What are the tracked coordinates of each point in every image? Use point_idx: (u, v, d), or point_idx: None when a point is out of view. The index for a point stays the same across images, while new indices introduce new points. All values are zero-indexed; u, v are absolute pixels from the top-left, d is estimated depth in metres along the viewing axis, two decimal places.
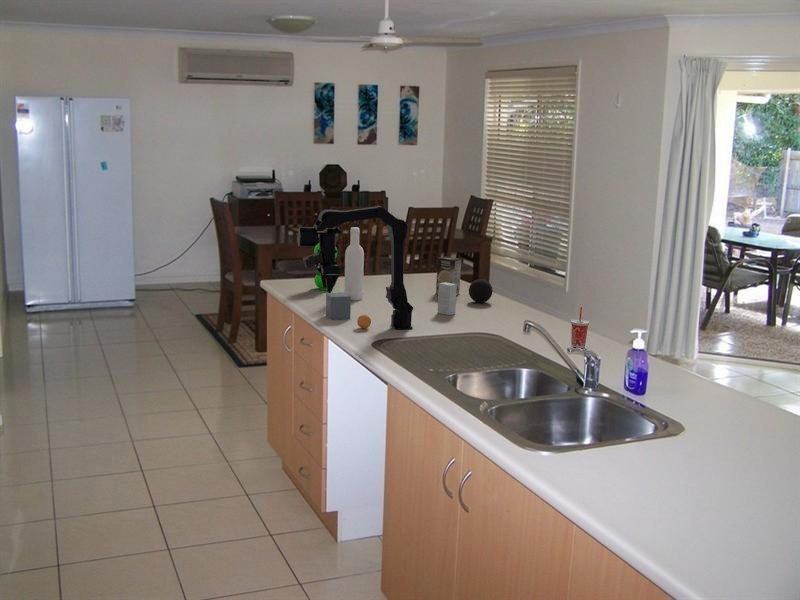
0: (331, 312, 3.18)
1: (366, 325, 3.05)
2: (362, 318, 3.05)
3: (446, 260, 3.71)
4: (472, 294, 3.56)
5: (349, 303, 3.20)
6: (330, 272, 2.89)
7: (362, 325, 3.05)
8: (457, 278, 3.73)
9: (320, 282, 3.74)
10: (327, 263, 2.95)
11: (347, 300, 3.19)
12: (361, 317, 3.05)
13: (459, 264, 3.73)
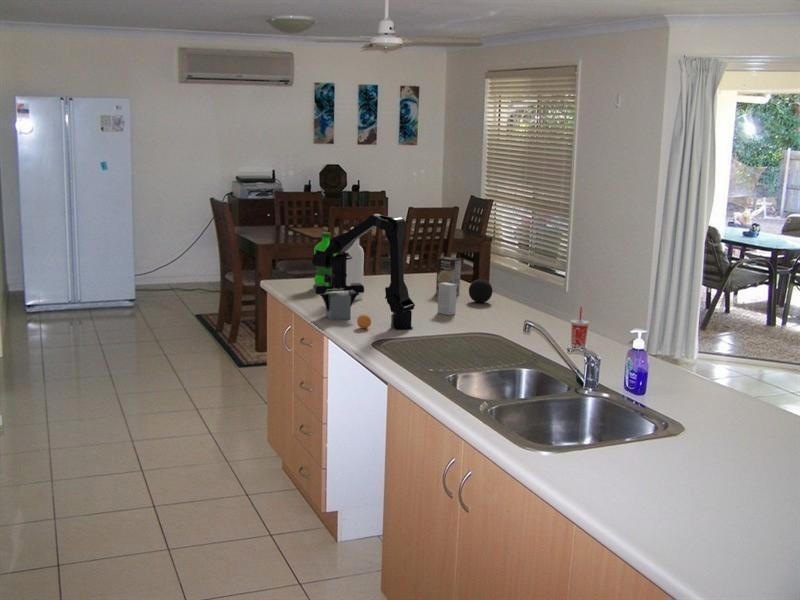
0: (331, 312, 3.18)
1: (366, 325, 3.05)
2: (362, 318, 3.05)
3: (446, 260, 3.71)
4: (472, 294, 3.56)
5: (349, 303, 3.20)
6: (313, 290, 3.19)
7: (362, 325, 3.05)
8: (457, 278, 3.73)
9: (320, 282, 3.74)
10: (331, 284, 3.21)
11: (347, 300, 3.19)
12: (361, 317, 3.05)
13: (459, 264, 3.73)
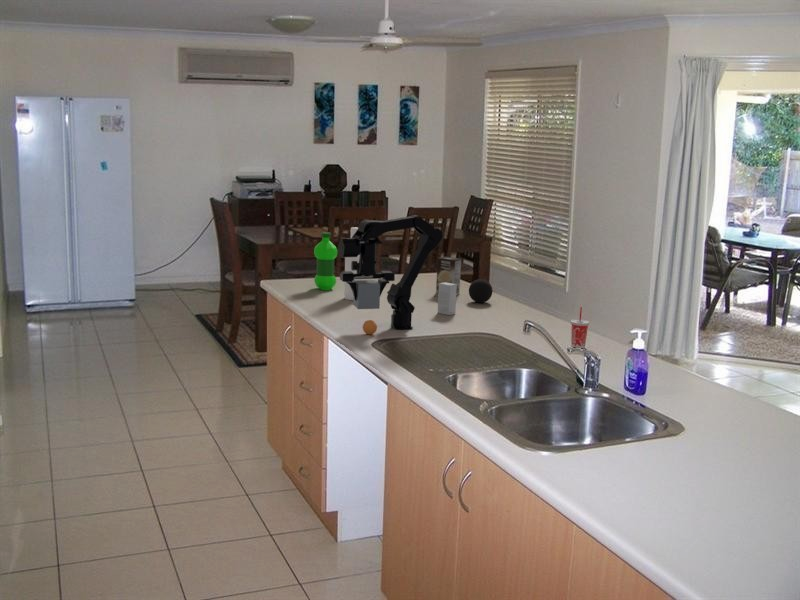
0: (359, 301, 2.98)
1: None
2: None
3: (446, 260, 3.71)
4: (472, 294, 3.56)
5: (378, 291, 2.99)
6: (340, 278, 2.99)
7: None
8: (457, 278, 3.73)
9: (320, 282, 3.74)
10: (359, 272, 3.00)
11: (377, 288, 2.99)
12: None
13: (459, 264, 3.73)
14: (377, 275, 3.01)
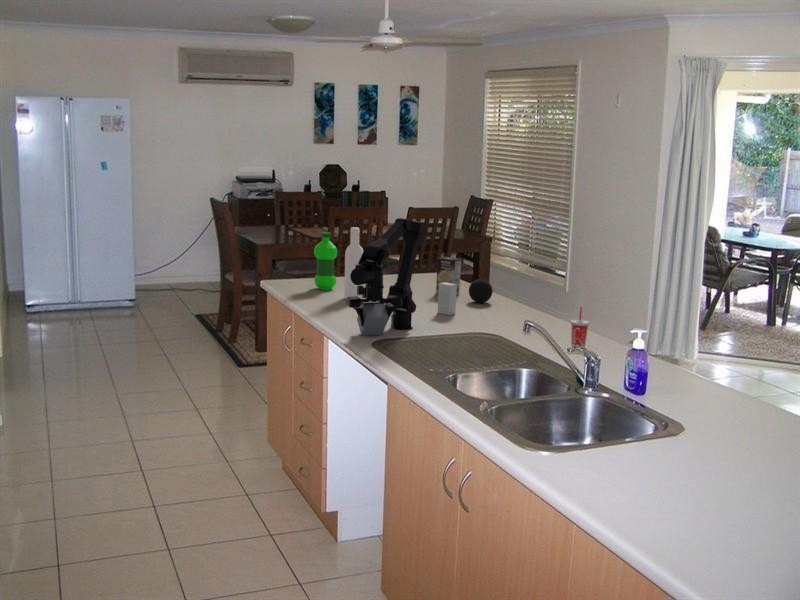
0: (364, 329, 2.94)
1: None
2: None
3: (446, 260, 3.71)
4: (472, 294, 3.56)
5: (385, 323, 2.94)
6: (347, 303, 2.92)
7: None
8: (457, 278, 3.73)
9: (320, 282, 3.74)
10: (366, 297, 2.93)
11: (384, 320, 2.93)
12: None
13: (459, 264, 3.73)
14: (384, 300, 2.94)
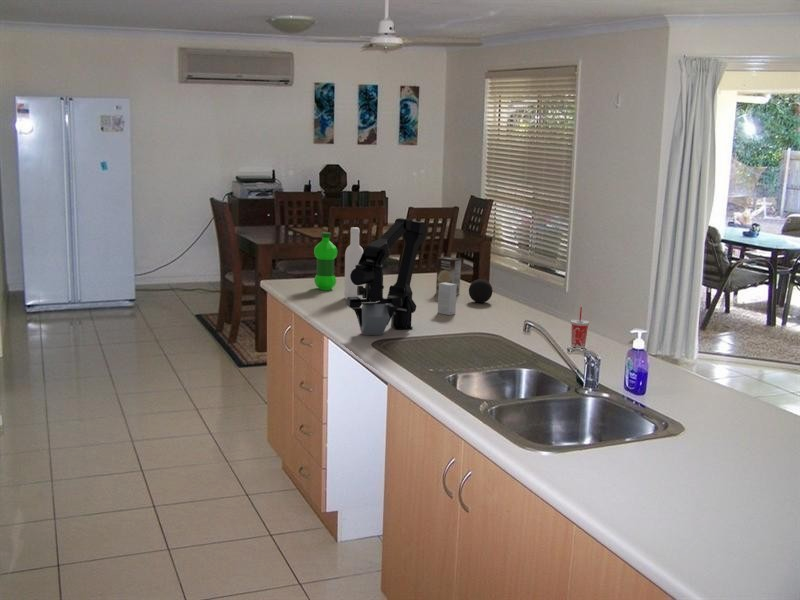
0: (365, 328, 2.94)
1: None
2: None
3: (446, 260, 3.71)
4: (472, 294, 3.56)
5: (386, 323, 2.94)
6: (347, 303, 2.92)
7: None
8: (457, 278, 3.73)
9: (320, 282, 3.74)
10: (366, 297, 2.93)
11: (385, 320, 2.93)
12: None
13: (459, 264, 3.73)
14: (386, 300, 2.94)
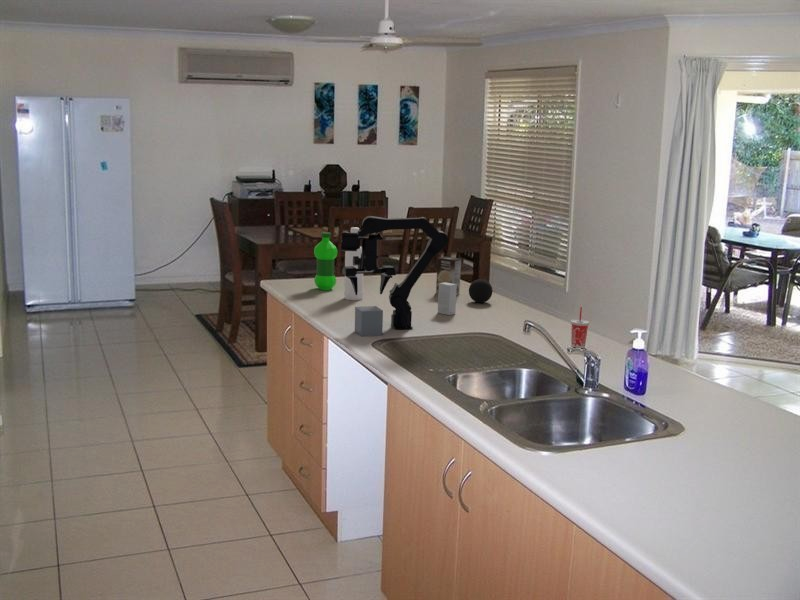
0: (362, 328, 2.95)
1: None
2: None
3: (446, 260, 3.71)
4: (472, 294, 3.56)
5: (381, 318, 2.97)
6: (343, 272, 3.03)
7: None
8: (457, 278, 3.73)
9: (320, 282, 3.74)
10: (361, 267, 3.05)
11: (379, 314, 2.97)
12: None
13: (459, 264, 3.73)
14: (380, 270, 3.06)
